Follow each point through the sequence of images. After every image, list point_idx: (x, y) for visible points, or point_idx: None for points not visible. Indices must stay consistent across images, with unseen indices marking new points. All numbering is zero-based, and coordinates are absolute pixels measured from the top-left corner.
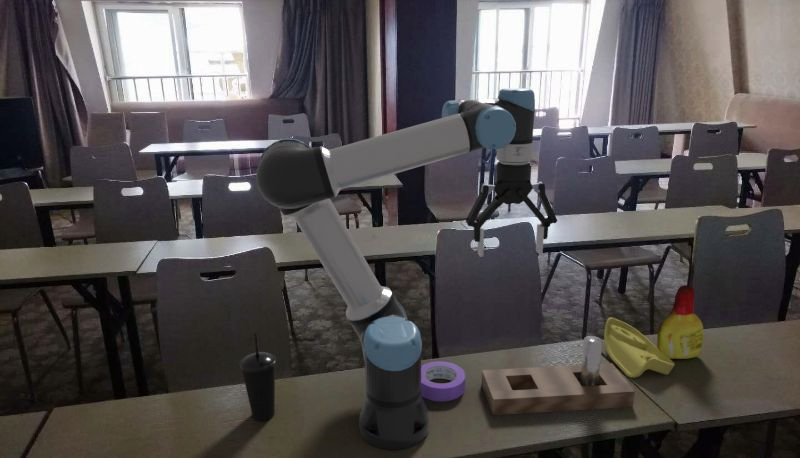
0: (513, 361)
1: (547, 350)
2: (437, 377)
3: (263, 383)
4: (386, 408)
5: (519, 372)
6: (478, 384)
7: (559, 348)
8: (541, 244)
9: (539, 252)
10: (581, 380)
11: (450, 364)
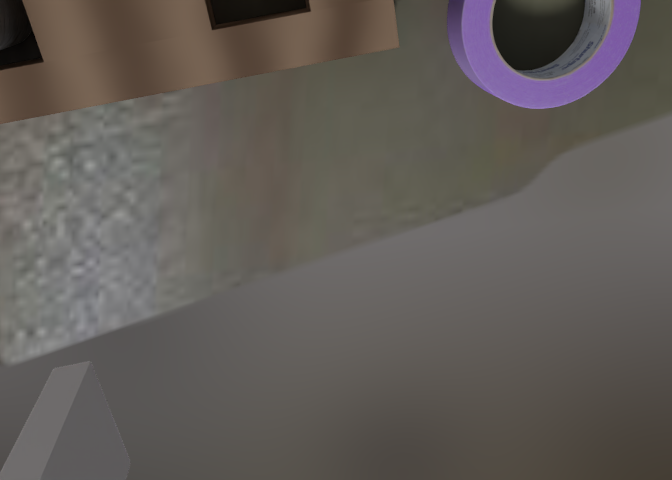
0: (266, 204)
1: (143, 287)
2: (537, 69)
3: None
4: None
5: (256, 42)
6: None
7: (99, 304)
8: (32, 444)
9: (82, 374)
10: (7, 6)
11: (509, 90)
